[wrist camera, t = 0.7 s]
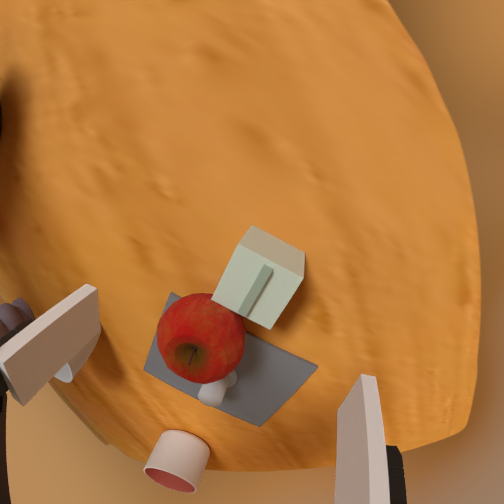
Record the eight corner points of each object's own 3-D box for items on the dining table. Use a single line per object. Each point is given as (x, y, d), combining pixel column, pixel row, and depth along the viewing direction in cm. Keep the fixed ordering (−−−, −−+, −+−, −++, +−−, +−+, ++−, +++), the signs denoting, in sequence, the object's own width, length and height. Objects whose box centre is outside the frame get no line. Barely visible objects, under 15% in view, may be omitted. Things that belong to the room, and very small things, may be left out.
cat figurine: (41, 337, 45) (4, 370, 34) (19, 321, 46) (-17, 350, 35) (33, 302, 42) (-10, 335, 31) (11, 287, 43) (-30, 315, 32)
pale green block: (228, 272, 32) (208, 302, 26) (251, 224, 29) (236, 246, 23) (277, 297, 32) (269, 333, 26) (305, 252, 29) (303, 281, 23)
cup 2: (153, 428, 47) (132, 466, 38) (187, 423, 44) (167, 467, 35) (186, 455, 49) (170, 492, 40) (222, 452, 46) (208, 493, 37)
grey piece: (144, 368, 40) (128, 391, 35) (171, 291, 34) (150, 315, 29) (260, 425, 40) (254, 451, 35) (317, 365, 34) (316, 396, 29)
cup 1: (97, 299, 37) (53, 337, 28) (117, 345, 40) (81, 387, 31) (64, 300, 39) (23, 332, 30) (83, 342, 42) (48, 377, 33)
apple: (170, 310, 34) (127, 357, 24) (209, 259, 32) (170, 297, 22) (225, 353, 35) (201, 412, 24) (270, 308, 32) (258, 364, 22)
